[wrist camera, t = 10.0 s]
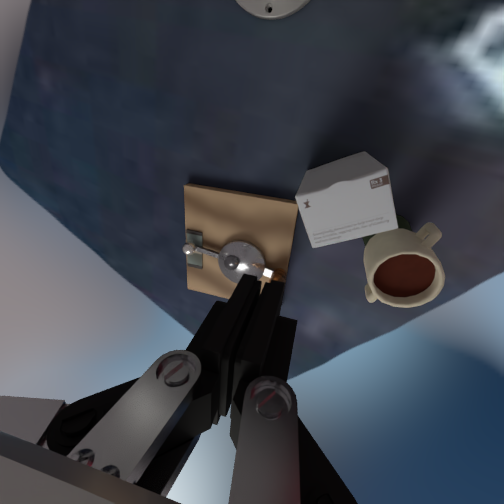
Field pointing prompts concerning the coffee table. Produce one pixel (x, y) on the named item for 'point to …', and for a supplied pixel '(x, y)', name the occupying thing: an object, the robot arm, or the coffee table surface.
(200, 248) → the cam capstan
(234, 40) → the coffee table surface
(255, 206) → the stand
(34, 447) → the robot arm
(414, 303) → the character mug
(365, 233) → the skincare box
